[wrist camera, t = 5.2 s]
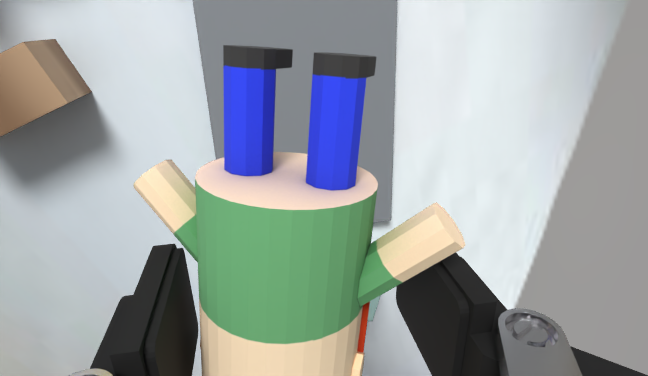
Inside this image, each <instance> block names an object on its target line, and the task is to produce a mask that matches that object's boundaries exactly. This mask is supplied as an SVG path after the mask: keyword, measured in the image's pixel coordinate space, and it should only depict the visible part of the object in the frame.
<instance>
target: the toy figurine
mask: <svg viewBox="0 0 648 376" xmlns="http://www.w3.org/2000/svg"><path fill="white" fill-rule="evenodd" d="M292 58H293V49H285V48H273V47H259V46H239V45H223V74H224V158H220V159H217V160H214V161H211V162H209V163H207V164H205V165H204V166H202V167H201V168H200V169H199V170H198V171H197V172H196V176H195V187H194V186H193V185H192V184H191V183H190V181H189V180H188V179H187V178H186V177H185V175H184V174H183V173H182V172H181V171H180V169H179V168H178V167H177V166H176V165H175V163H174V162H173V161H172V160H165V161H163V162H161V163H159V164H157V165H155V166H154V167H152V168H151V169H150V170H148V171H147V172H145V173H144V174H143V175H142V176H141V177H140V178H139V179H138V180H137V181H136V182H135V183H134V188H135V189H136V191H137V192H138V193H139V194H140V195H141V197H142V198H143V199H144V200H145V201H146V202H147V204H148V205H149V206H150V207H151V208H152V209H153V211H154V212H155V213H156V214H157V215H158V217H159V218H160V219H161V220H162V221H163V222H164V224H165V225H166V226H167V227H168V228H169V229H170V231H171V232H172V233H173V234H174V235H175V237H176V238H177V239H178V240H179V241H180V242H181V244H182V245H183V246H184V247H185V248H186V249H187V251H188V252H189V253H190V254H191V255H192V257H193V258H194V259H195V260H196V261H197V262H198V278H199V307H200V333H201V340H200V348H201V362H202V376H362V371H363V364H364V354H365V353H363V350H364V342H365V335H366V327H367V320H368V312H369V305H370V301H371V300H373V299H375V298H376V297H378V296H380V295H382V294H383V293H385V292H387V291H389V290H390V289H392V288H394V287H396V286H397V285H399V284H401V283H403V282H404V281H406V280H408V279H410V278H411V277H413V276H415V275H417V274H418V273H420V272H422V271H424V270H425V269H427V268H429V267H431V266H432V265H434V264H436V263H438V262H439V261H441V260H443V259H445V258H446V257H448V256H450V255H452V254H454V253H455V252H457V251H459V250H461V249H462V248H464V246H465V242H464V239H463V236H462V234H461V232H460V231H459V229H458V227H457V226H456V224H455V222H454V221H453V219H452V218H451V217H450V216H449V214H448V213H447V212H446V210H445V209H444V208H443V207H441V206H440V205H439V204H438V203H437V202H436V203H434V204H432V205H430V206H429V207H427V208H426V209H424V210H423V211H421V212H419V213H418V214H416V215H415V216H413V217H412V218H410V219H409V220H407V221H405V222H404V223H402V224H401V225H399V226H398V227H396V228H395V229H393V230H391V231H390V232H388V233H387V234H385V235H384V236H382V237H381V238H379V239H377V240H376V241H374V242H373V243H371V237H372V229H373V220H374V212H375V204H376V196H377V188H378V182H377V180H376V178H375V177H374V176H373V175H372V174H371V173H370V172H368V171H366V170H365V169H363V168H361V167H359V166H357V164H358V154H359V145H360V135H361V126H362V116H363V107H364V97H365V87H366V78H368V77H371V76H374V75H375V67H376V58H377V57H376V56H369V55H358V54H345V53H329V52H314V57H313V73H312V89H311V105H310V122H309V138H308V154H304V153H291V152H273V151H274V120H275V90H276V69H282V68H292Z"/></svg>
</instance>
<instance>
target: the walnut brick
mask: <svg viewBox="0 0 648 376" xmlns="http://www.w3.org/2000/svg"><path fill="white" fill-rule="evenodd" d="M90 92H92V91H91V90H90V88H89V87H88V86H87V84H86V83H85V81H84V80H83V78H82V77H81V75H80V74H79V73H78V71H77V70H76V68H75V67H74V65H73V64H72V63H71V61H70V60H69V58H68V57H67V55H66V54H65V53H64V51H63V50H62V48H61V47H60V45H59V44H58V43H57V41H56V40H55V39H50V40H40V41H29V42H22V43H20V44H18V45H16V46H14V47H12V48H10V49H8V50H6V51H4V52H2V53H0V137H1V136H3V135H5V134H7V133H9V132H11V131H13V130H15V129H17V128H19V127H21V126H23V125H25V124H27V123H29V122H32V121H34V120H36V119H38V118H40V117H42V116H44V115H46V114H48V113H50V112H52V111H54V110H56V109H58V108H60V107H62V106H64V105H66V104H68V103H70V102H72V101H74V100H76V99H78V98H80V97H82V96H84V95H86V94H88V93H90Z"/></svg>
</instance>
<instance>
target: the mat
mask: <svg viewBox="0 0 648 376" xmlns="http://www.w3.org/2000/svg"><path fill="white" fill-rule="evenodd" d="M193 6H194V13H195V20H196V27H197V33H198V40H199V47H200V54H201V61H202V67H203V74H204V81H205V88H206V95H207V101H208V108H209V115H210V122H211V128H212V135H213V142H214V149H215V156H216V160H217V159H220V158H224V74H223V45H239V46H259V47H273V48H285V49H293V58H292V68H282V69H276V90H275V120H274V151H273V152H291V153H304V154H308V138H309V122H310V105H311V89H312V73H313V57H314V52H329V53H345V54H358V55H369V56H376V57H377V58H376V67H375V75H374V76H371V77H368V78H366V87H365V97H364V107H363V116H362V126H361V135H360V145H359V154H358V164H357V166H359V167H361V168H363V169H365V170H366V171H368V172H370V173H371V174H372V175H373V176H374V177H375V178H376V180H377V182H378V188H377V196H376V204H375V212H374V220H373V222H381V221H390V220H391V204H392V169H393V134H394V99H395V64H396V28H397V0H193Z"/></svg>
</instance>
